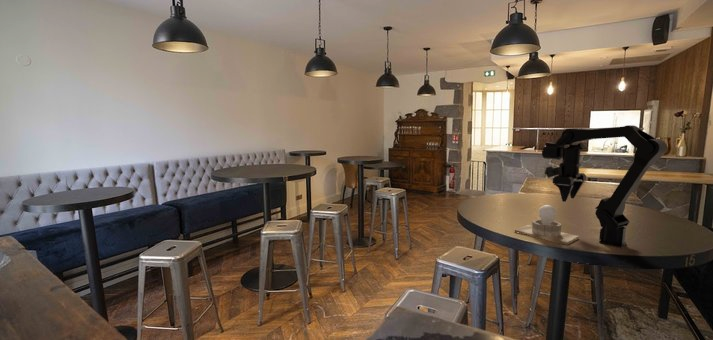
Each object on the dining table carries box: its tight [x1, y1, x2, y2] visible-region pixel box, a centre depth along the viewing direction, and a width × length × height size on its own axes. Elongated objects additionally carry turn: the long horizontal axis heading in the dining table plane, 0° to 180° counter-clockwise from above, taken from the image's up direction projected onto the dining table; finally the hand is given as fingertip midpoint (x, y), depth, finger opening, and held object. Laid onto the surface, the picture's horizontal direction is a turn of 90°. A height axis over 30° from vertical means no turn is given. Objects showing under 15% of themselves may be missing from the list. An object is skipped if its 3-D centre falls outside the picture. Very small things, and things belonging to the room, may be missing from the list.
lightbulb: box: [537, 204, 558, 226], centre depth 131 cm, size 6×6×11 cm
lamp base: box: [514, 218, 580, 246], centre depth 131 cm, size 19×11×5 cm, turn 38°
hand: (568, 199), depth 135 cm, fingers open, 9 cm apart
